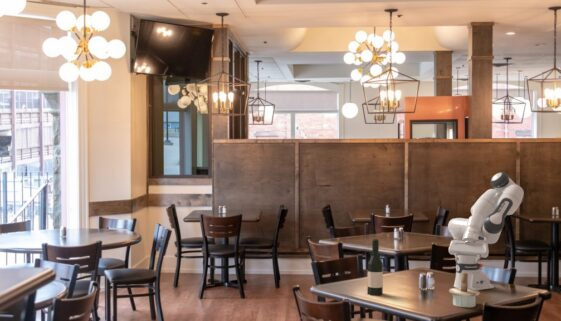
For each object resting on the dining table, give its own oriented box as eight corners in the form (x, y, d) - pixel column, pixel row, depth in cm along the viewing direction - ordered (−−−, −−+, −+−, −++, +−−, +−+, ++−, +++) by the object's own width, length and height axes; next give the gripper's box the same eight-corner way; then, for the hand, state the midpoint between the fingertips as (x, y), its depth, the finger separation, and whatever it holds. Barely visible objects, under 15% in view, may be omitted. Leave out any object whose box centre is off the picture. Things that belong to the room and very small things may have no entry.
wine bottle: (365, 292, 372) (366, 237, 371) (380, 292, 373) (381, 237, 372) (369, 295, 364) (369, 239, 363) (384, 295, 364) (384, 239, 364)
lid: (464, 288, 355) (464, 269, 354) (486, 294, 341) (486, 274, 341) (442, 291, 347) (442, 272, 347) (463, 297, 334) (464, 277, 334)
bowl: (467, 301, 351) (467, 290, 351) (479, 306, 341) (479, 294, 341) (448, 302, 348) (448, 291, 348) (460, 307, 338) (460, 295, 338)
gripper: (450, 235, 363) (444, 255, 355) (489, 238, 353) (484, 259, 345) (452, 242, 367) (447, 263, 359) (491, 245, 357) (486, 267, 349)
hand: (465, 261), depth 352 cm, fingers open, 8 cm apart
